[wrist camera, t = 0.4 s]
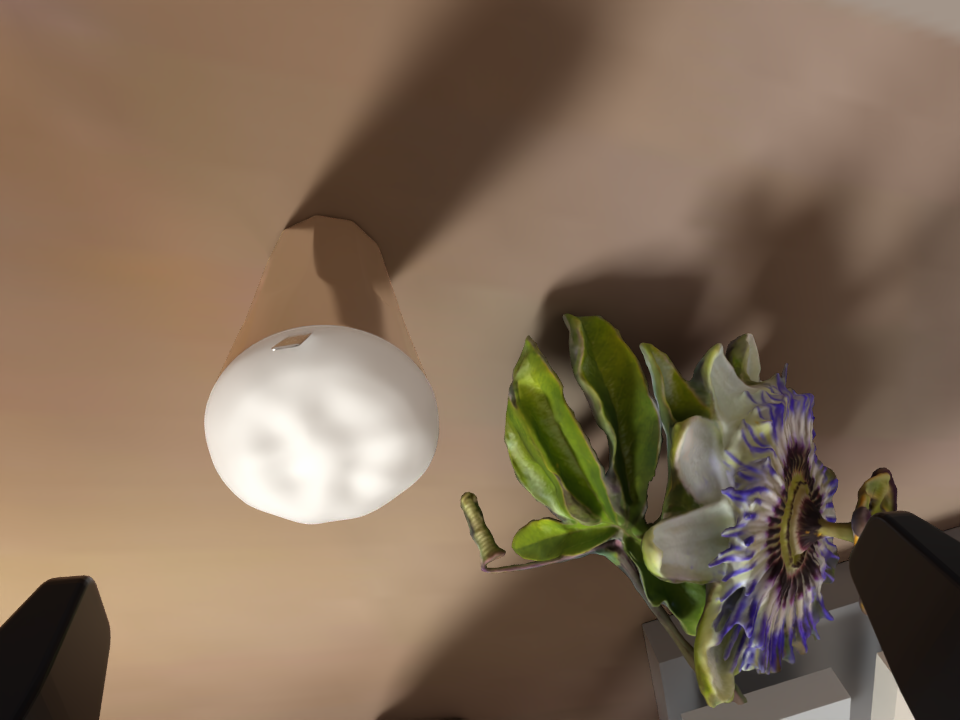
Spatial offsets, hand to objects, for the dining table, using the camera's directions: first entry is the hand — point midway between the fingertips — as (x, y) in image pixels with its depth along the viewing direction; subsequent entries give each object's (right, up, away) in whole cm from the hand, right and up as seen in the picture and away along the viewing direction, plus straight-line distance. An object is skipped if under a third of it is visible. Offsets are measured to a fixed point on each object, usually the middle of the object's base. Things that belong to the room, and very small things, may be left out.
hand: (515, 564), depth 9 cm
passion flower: (+5, 0, +18) cm, 19 cm away
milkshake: (-5, +5, +13) cm, 15 cm away
